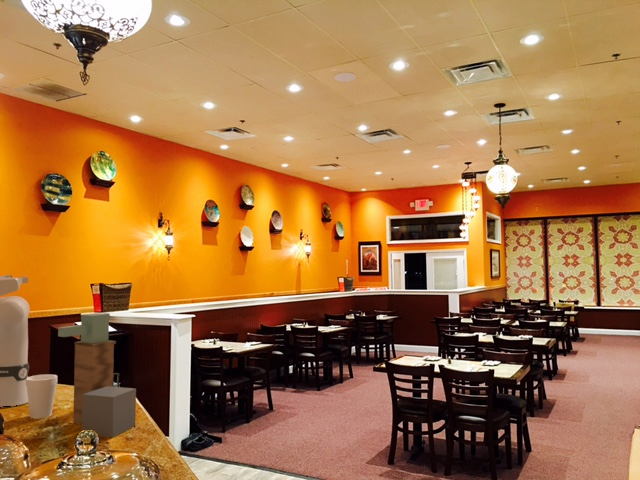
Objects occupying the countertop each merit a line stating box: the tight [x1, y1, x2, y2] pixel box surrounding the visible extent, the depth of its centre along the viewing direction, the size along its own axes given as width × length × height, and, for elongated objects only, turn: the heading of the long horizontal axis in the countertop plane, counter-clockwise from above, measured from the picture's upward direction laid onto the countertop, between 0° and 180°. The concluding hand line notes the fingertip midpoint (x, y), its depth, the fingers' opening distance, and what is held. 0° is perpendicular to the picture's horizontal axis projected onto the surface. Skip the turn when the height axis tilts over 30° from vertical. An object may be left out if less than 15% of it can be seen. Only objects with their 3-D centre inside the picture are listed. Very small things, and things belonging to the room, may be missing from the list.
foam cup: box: [26, 373, 58, 420], centre depth 179 cm, size 10×9×13 cm
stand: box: [72, 339, 117, 426], centre depth 174 cm, size 9×10×26 cm
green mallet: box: [57, 312, 111, 344], centre depth 171 cm, size 17×6×9 cm, turn 149°
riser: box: [81, 386, 137, 439], centre depth 165 cm, size 11×11×12 cm
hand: (19, 278), depth 163 cm, fingers open, 8 cm apart
